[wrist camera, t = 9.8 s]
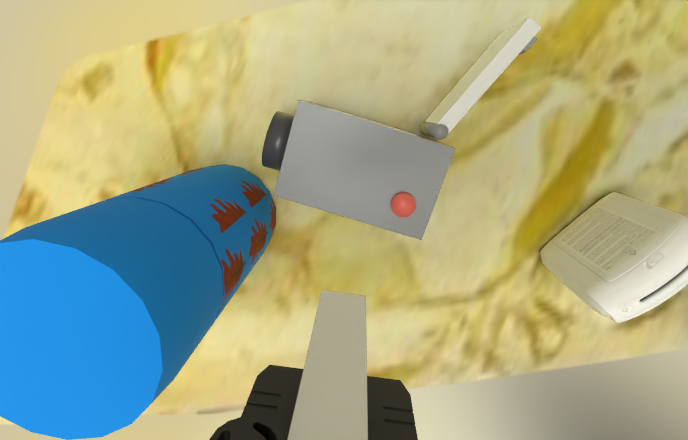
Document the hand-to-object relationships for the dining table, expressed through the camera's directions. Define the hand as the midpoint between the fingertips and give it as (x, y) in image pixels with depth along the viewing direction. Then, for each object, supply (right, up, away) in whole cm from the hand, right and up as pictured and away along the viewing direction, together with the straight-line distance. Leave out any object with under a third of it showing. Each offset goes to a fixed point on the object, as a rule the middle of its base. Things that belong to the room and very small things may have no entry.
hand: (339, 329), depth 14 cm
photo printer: (+25, +2, +28) cm, 37 cm away
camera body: (+1, +10, +27) cm, 29 cm away
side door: (+12, +16, +24) cm, 31 cm away
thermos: (-12, +4, +29) cm, 32 cm away
